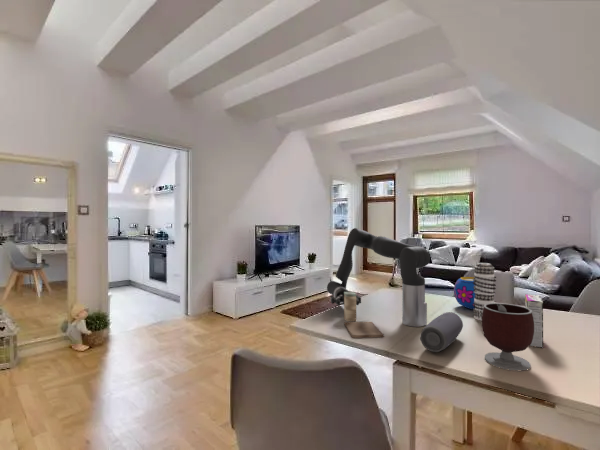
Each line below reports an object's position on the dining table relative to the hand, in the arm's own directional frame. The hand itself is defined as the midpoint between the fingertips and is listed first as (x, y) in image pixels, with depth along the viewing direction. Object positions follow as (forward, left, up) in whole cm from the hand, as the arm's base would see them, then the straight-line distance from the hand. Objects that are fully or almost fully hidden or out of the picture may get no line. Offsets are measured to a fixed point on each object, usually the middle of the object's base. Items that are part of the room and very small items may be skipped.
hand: (348, 303), depth 151 cm
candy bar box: (-61, +36, -7) cm, 71 cm away
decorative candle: (-61, +7, -7) cm, 62 cm away
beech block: (0, +4, -7) cm, 7 cm away
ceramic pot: (-66, -10, -7) cm, 67 cm away
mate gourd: (-39, +52, -7) cm, 65 cm away
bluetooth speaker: (-26, +36, -7) cm, 45 cm away
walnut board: (-2, +19, -7) cm, 20 cm away
